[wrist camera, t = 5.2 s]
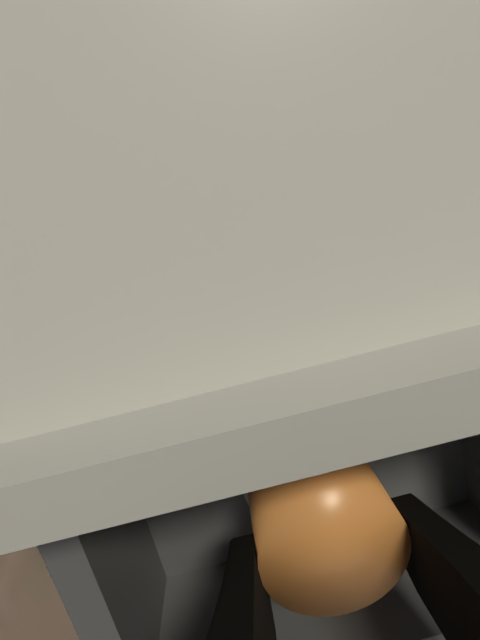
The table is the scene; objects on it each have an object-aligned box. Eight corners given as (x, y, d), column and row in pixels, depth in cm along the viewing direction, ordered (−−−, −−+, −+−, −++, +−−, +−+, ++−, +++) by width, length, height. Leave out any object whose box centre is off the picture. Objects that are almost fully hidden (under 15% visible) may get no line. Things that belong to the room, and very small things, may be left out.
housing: (486, 506, 16) (596, 620, 11) (151, 592, 16) (126, 741, 11) (453, 143, 12) (594, 97, 8) (21, 249, 12) (-91, 265, 8)
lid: (607, 333, 9) (733, 369, 7) (-1, 486, 9) (-70, 572, 7) (611, -631, 5) (878, -1203, 3) (-408, -397, 5) (-842, -829, 3)
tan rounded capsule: (350, 504, 15) (400, 611, 11) (243, 510, 14) (255, 621, 10) (360, 408, 13) (421, 488, 10) (244, 411, 13) (259, 496, 9)
